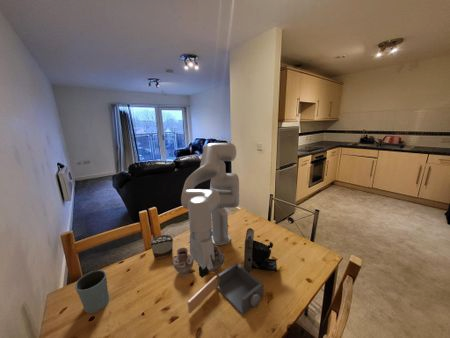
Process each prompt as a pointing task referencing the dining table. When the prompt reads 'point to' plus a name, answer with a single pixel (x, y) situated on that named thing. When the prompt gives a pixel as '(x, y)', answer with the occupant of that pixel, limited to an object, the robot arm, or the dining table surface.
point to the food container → (162, 246)
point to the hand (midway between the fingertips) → (204, 274)
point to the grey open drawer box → (240, 288)
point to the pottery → (186, 261)
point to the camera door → (202, 294)
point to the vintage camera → (257, 254)
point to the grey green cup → (93, 291)
